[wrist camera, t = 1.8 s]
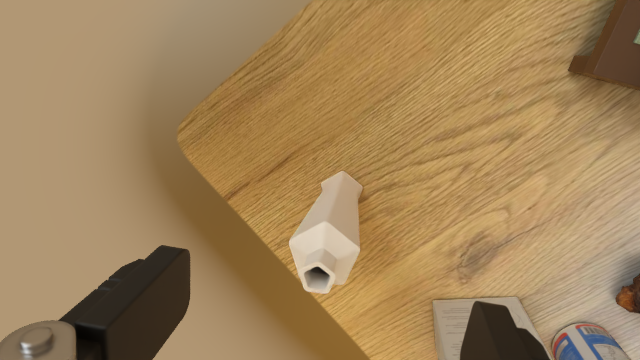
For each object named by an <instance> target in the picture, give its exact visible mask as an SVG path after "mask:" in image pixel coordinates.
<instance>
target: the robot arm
mask: <svg viewBox="0 0 640 360" xmlns="http://www.w3.org/2000/svg"><path fill="white" fill-rule="evenodd" d="M189 300H190V253H189V251H188V250H187V249H182V248H176V247H170V246H164V245H161V246H159V247H158V248H157V249H156V250H155V251H154V252H153V253H151V254H150V255H149V256H148V257H147V258H146V259H145V260H143V259H138V260H136V261H134V262H132V263H129V264H127V265H125V266H123V267H121V268H120V269H119V270H118V271H116V272H115V273H114V274H113V275H112V276H110V277H109V280H106V281H104V282H103V283H102V284H101V285H100V286H99V287H98V289H95V290H94V291H93V292H91V293H90V294H89V295H88V296H87V297H86V298H84V300H82V301H81V302H80V303H78V304H77V305H76V306H75V307H74V308H72V309H71V310H70V311H69V312H68V313H67V314H65V315H64V316H63V317H62V318H61V319H60V320H58V321H54V320H51V321H42V322H37V323H33V324H30V325H27V326H24V327H22V328H20V329H18V330H16V331H14V332H12V333H11V334H9V335H8V336H7V337H5V338H4V339H3V340H2V341H1V342H0V360H152V359H153V358H154V357H155V355H156V354H157V353H158V351H159V350H160V349H161V347H162V346H163V344H164V343H165V342H166V340H167V339H168V338H169V336H170V335H171V334H172V332H173V331H174V330H175V328H176V327H177V325H178V324H179V323H180V321H181V320H182V319H183V317H184V315H185V313H186V311H187V308H188V305H189ZM460 360H550V358H549V356H548V354H547V352H546V351H545V349H544V347H543V345H542V344H541V343H540V342H539V341H538V340H537V339H536V338H535V337H534V336H533V335H532V334H531V333H530V332H529V331H528V330H527V329H524V328H518V327H517V326H516V324H515V322H514V320H513V318H512V316H511V314H510V312H509V309H508V308H507V307H506V306H505V305H499V304H493V303H487V302H482V301H475V302H474V304H473V306H472V309H471V313H470V317H469V320H468V324H467V328H466V331H465V335H464V339H463V342H462V346H461V351H460Z"/></svg>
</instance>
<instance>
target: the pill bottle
mask: <svg viewBox="0 0 640 360" xmlns="http://www.w3.org/2000/svg"><path fill="white" fill-rule="evenodd" d="M552 352H553V355H554V358H555V360H631V359H630V358H629V357H628V356H627V354H626V353H625V352H624V351H623V350H622V348H621V347H620V346H619V345H618V344H617V342H616V341H615V340H614V339H613V337H612V336H611V335H610V334H609V333H608V332H607V331H606V330H604V329H603V328H601V327H599V326H597V325H594V324H589V323H578V324H573V325H570V326H568V327H566V328H564V329H562V330H561V331H560V332H559V333H558V334H557V335H556V336H555V338H554V340H553V343H552Z"/></svg>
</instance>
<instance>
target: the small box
mask: <svg viewBox="0 0 640 360" xmlns="http://www.w3.org/2000/svg"><path fill="white" fill-rule="evenodd" d="M475 301H482V302H487V303H493V304H499V305H505V306H506V307H507V308H508V309H509V312H510V314H511V316H512V318H513V320H514V322H515V324H516V326H517V327H518V328H524V329H527V330H528V331H529V332H530V333H531V334H532V335H533V336H534V337H535V338H536V339H537V340H538V341H539V342H540V343H541V344H542V345H543V347H544V349H545V351H546V352H547V354H548V356H549V358H550V360H553V359H552V357H551V355H550V354H549V352H548V350H547V348H546V347H545V345H544V343H543V341H542V339H541V338H540V336H539V334H538V332H537V330H536V329H535V327H534V325H533V323H532V322H531V320H530V318H529V316H528V315H527V313H526V311H525V309H524V307H523V306H522V304H521V302H520V300H519V298H518V297H497V298H472V299H449V300H433V302H432V303H433V318H434V332H435V347H436V352H437V357H438V360H460V351H461V346H462V342H463V339H464V335H465V331H466V328H467V324H468V320H469V317H470V313H471V309H472V306H473V304H474V302H475Z"/></svg>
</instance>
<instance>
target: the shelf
mask: <svg viewBox="0 0 640 360" xmlns="http://www.w3.org/2000/svg"><path fill="white" fill-rule="evenodd" d="M568 71H570V72H574V73H577V74H581V75H585V76H588V77H592V78H596V79H599V80H603V81H606V82H610V83H614V84H617V85H621V86H625V87H628V88H632V89H635V90H639V91H640V0H617V1H616V3H615V5H614V7H613V10H612V12H611V14H610V16H609V18H608V20H607V22H606V24H605V26H604V29H603V31H602V33H601V35H600V37H599V39H598V41H597V43H596V45H595V48H594V50H593V52H592V54H591V56H574V59H573V61H572V63H571V65H570V67H569V69H568Z"/></svg>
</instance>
